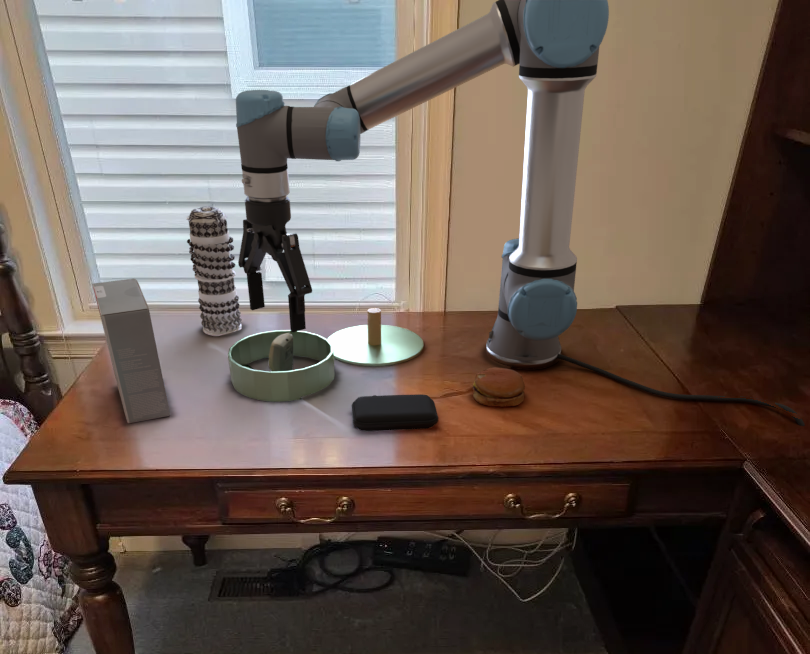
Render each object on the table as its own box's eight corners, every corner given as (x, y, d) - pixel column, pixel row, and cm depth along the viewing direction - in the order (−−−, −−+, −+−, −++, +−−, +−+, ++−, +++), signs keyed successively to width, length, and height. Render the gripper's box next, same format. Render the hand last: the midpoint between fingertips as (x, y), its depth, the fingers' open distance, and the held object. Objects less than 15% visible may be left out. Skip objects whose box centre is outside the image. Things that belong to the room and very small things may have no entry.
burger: (532, 405, 137) (535, 381, 134) (485, 412, 135) (487, 388, 132) (509, 382, 145) (511, 359, 142) (464, 389, 142) (465, 366, 140)
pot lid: (443, 351, 157) (445, 312, 152) (366, 378, 146) (365, 338, 141) (381, 322, 169) (381, 286, 164) (306, 345, 158) (303, 307, 153)
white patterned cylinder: (239, 337, 161) (224, 215, 147) (196, 336, 161) (177, 214, 147) (247, 321, 169) (233, 203, 154) (206, 320, 169) (188, 203, 154)
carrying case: (432, 403, 137) (351, 405, 136) (432, 387, 136) (350, 390, 135) (439, 431, 129) (353, 435, 128) (440, 416, 127) (352, 419, 126)
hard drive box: (116, 387, 141) (91, 282, 130) (158, 380, 144) (137, 276, 132) (126, 424, 130) (100, 313, 118) (171, 416, 132) (150, 306, 121)
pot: (355, 381, 145) (354, 353, 141) (267, 412, 134) (264, 382, 131) (297, 349, 157) (295, 322, 153) (213, 375, 146) (209, 347, 143)
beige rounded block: (299, 381, 144) (296, 341, 139) (272, 384, 142) (268, 344, 138) (294, 369, 148) (291, 330, 143) (268, 372, 147) (263, 333, 142)
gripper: (210, 185, 132) (224, 304, 144) (289, 215, 116) (298, 345, 129) (247, 180, 136) (258, 295, 148) (329, 208, 120) (334, 334, 133)
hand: (277, 319), depth 138 cm, fingers open, 13 cm apart
